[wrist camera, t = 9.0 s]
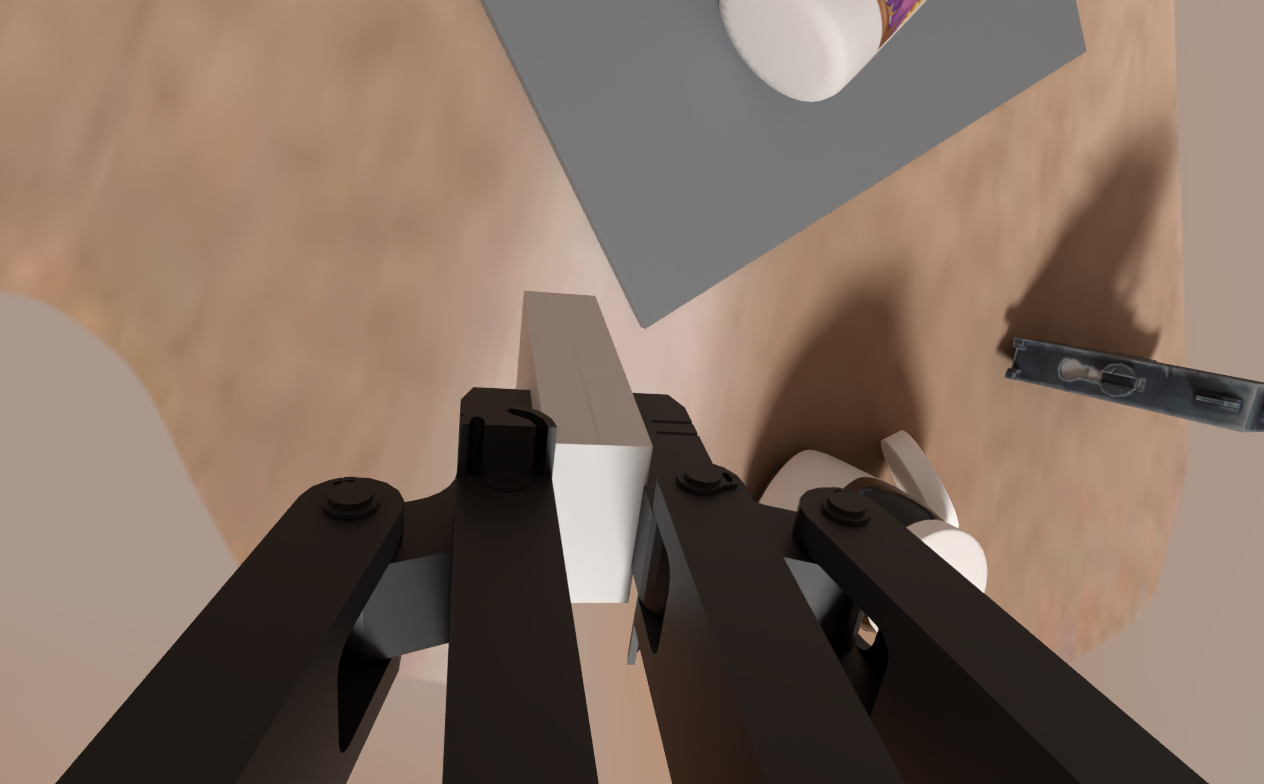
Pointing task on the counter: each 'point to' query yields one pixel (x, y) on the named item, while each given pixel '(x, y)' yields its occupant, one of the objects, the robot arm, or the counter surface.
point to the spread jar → (888, 500)
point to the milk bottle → (812, 39)
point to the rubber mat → (748, 122)
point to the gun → (1142, 384)
